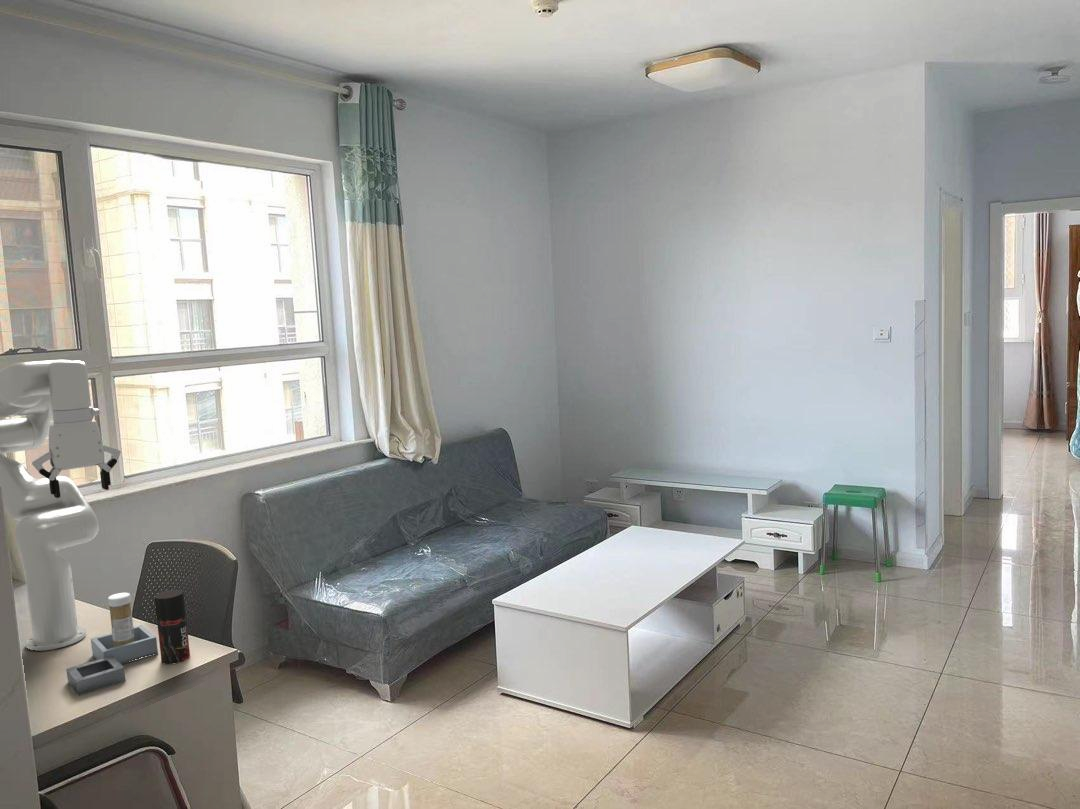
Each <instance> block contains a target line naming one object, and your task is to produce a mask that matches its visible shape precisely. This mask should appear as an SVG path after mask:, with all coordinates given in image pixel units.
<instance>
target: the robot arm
mask: <svg viewBox="0 0 1080 809" xmlns="http://www.w3.org/2000/svg"><path fill="white" fill-rule="evenodd" d="M88 375H89V374H88V368H87V364H86V363H85V362H84V361H82V360H70V359H49V360H34V361H24V362H16V363H15V362H14V363H12V364H10V365H7V366H5V367H4V368H1V369H0V418H6V419H0V487H1V488H2V493H3V503H4V508H3V509H4V511H5V512H6V513H7V515H8V516H9V517H10V518H11V519H13V520H15V521H18V522H17V523H16V525H15V527H14V538H15V542H16V544H17V548H18V551H19V554H20V557H21V561H22V566H23V573H24V579H25V580H24V581H25V586H26V588H25V589H26V595H27V604H28V611H29V619H30V628H31V633H32V636H31V637H29V638H28V639H27V640H26V641H25V648H26V649H27V648H28V649H27V650H29V649H30V651H33V650H35V651H36V652H37V651H38V652H39V651H41V652H42V651H51V650H56V649H60V648H65V647H67V646H71V645H73V644H75V643H78V642H79V641H81V640H83V639H84V638H85V637H86V635H87V631H86V629H85V628H84V627H82V626H79V625H78V624H79V623H78V617H77V616H78V615H77V608H76V600H75V599H76V598H75V591H74V582H73V574H72V567H71V565H70V563H69V562H68V560H67V559H65V558H64V557H63V556H62V555H61V554H59V553H58V551H59V550H62V549H65V548H70V547H73V546H76V545H77V546H78V545H81V544H85V543H88V542H90V541H92V540H93V539H95V538H96V536H97V535H98V533H99V530H100V529H99V528H100V527H99V520H98V517H97V515H96V513H95V511H94V510H93V508H92V506H91V505H90V503H89V502H88V501H87V499H86V498H85V496H84V494H83V493H82V491H81V490H80V489H79V487H78V485H77V484H76V483H75V482H74V481H73V479H71V478H69V477H67V476H65V475H59V474H60V473H61V472H62V471H66V470H68V471H69V470H75V469H81V468H87V467H95V466H98V467H99V468H100V469H101V471H99V472H100V475H99V476H100V481H101V482H100V484H101V488H102V489H103V490H105V491H109V489H110V486H112V482H111V474H110V472H111V471H112V469H113V468H114V467H115V465H116V464H117V463H118V460H119V458H120V455H121V454H122V453H121V452H122V451H121V450H120V449H116V448H113V447H110V446H107V445H105V444H103V440H102V436H101V432H100V428H99V426H98V422H97V420H94V417H95V416H99V415H100V409H99V408H94V407H93V406H92V400H91V393H90V382H89V376H88ZM51 415H52V416H51ZM20 416H22V417H20ZM11 417H12V418H11ZM13 417H14V418H13ZM51 417H52V420H53V424H50V420H51ZM49 424H50V425H49ZM47 435H48V452H46V453H44V454H43V455H41V456H39V457H38V458H36V459H35V460H33V461H32V463H31V465H32V466H33V467H34V468H35V470H36V471H37V472H38V474H40V475H42V476H43V477H42V478H41V477H40V478H35V477H33V476H32V475H31V474H30V473H29V470H27V468H26V467H25V465H23V464H21V463H20V462H19V461H18V460H16V459H13V458H11V457H8V456H5V455H4V454H10V453H17V452H24V451H30V450H34V449H39V448H40V447H41V446H42V445H44V443H45V440H46V439H47V438H46V437H47ZM105 452H106V453H109V454H111V457H110V459H109V460H108V461H107V462H105ZM47 461H49V463H50V466H51V468H50V470H49V471H48V470H46V469H45V468H44V466H43V464H44V463H46V462H47Z"/></svg>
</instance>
